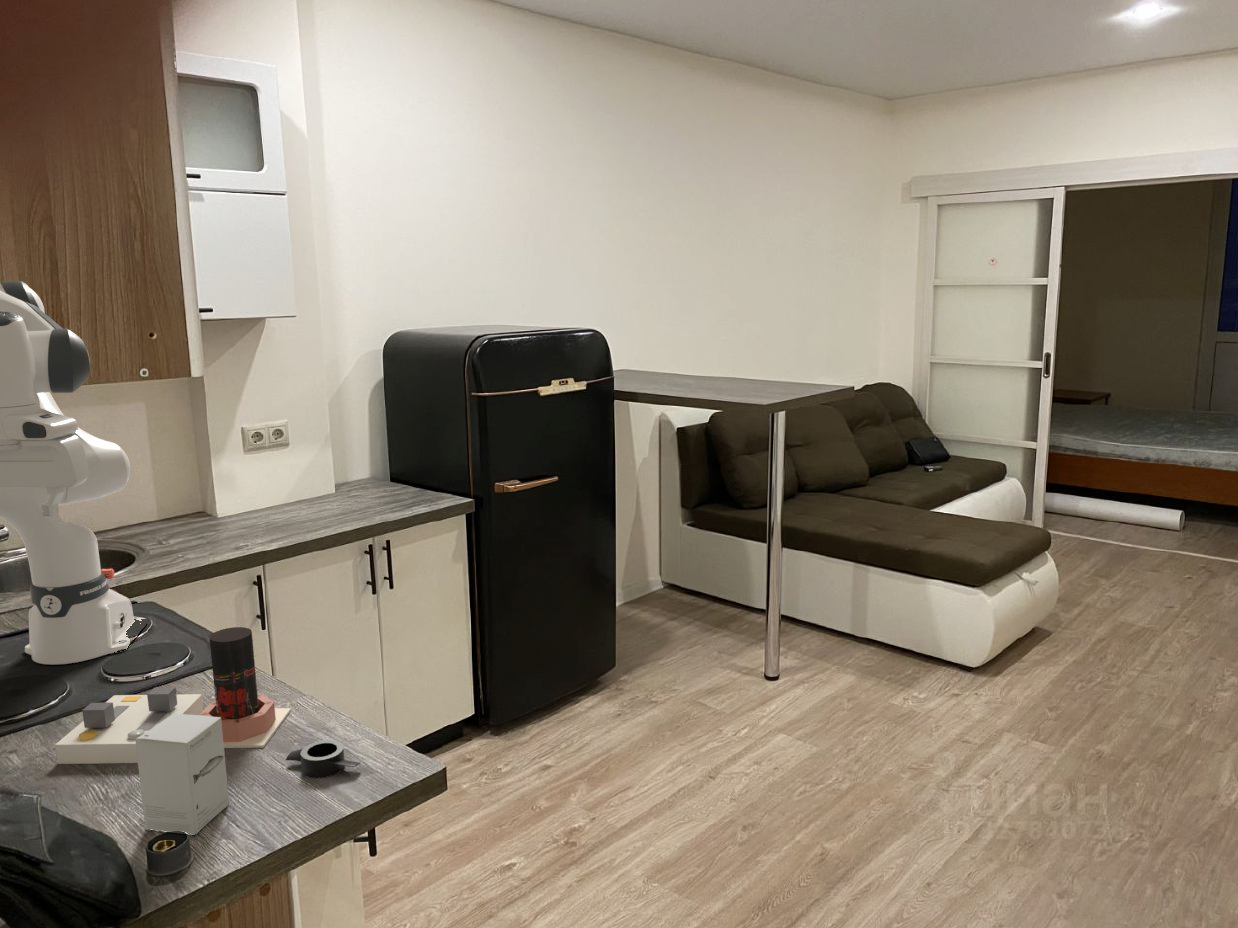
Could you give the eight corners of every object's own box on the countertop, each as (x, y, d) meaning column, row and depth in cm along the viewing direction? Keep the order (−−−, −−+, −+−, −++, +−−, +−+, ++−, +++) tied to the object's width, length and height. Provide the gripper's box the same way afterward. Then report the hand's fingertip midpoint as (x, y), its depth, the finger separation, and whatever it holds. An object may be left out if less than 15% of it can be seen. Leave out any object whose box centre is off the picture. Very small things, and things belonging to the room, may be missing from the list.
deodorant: (211, 727, 142) (201, 635, 139) (247, 713, 146) (239, 624, 143) (230, 739, 138) (221, 645, 135) (267, 724, 142) (259, 633, 139)
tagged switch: (93, 720, 138) (91, 702, 137) (114, 719, 138) (112, 702, 137) (84, 727, 136) (82, 710, 135) (106, 727, 136) (104, 709, 135)
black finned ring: (311, 792, 124) (310, 773, 124) (283, 764, 132) (281, 745, 131) (364, 772, 129) (363, 753, 129) (334, 746, 137) (333, 728, 136)
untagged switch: (156, 704, 143) (154, 687, 142) (177, 704, 143) (175, 687, 142) (149, 711, 141) (147, 694, 140) (170, 711, 141) (168, 694, 140)
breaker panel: (116, 712, 148) (113, 692, 147) (203, 711, 148) (201, 691, 147) (57, 763, 132) (54, 741, 131) (155, 762, 132) (152, 740, 131)
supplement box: (195, 837, 114) (185, 743, 112) (143, 830, 116) (132, 738, 113) (231, 804, 121) (223, 715, 119) (182, 799, 123) (172, 711, 120)
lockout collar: (216, 711, 148) (214, 691, 147) (291, 710, 148) (289, 690, 147) (182, 748, 136) (179, 727, 135) (263, 747, 136) (261, 726, 136)
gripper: (-81, 427, 131) (-67, 521, 134) (64, 427, 132) (75, 521, 134) (-51, 420, 137) (-37, 510, 140) (88, 420, 138) (98, 510, 140)
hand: (19, 515), depth 137 cm, fingers open, 8 cm apart
